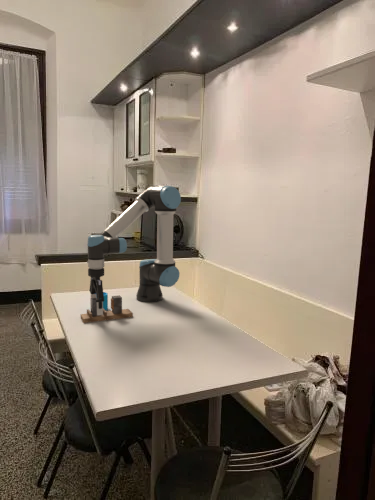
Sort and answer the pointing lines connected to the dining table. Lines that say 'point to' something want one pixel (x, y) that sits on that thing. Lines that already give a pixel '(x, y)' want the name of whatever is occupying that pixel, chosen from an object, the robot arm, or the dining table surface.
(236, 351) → the dining table surface
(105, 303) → the mug
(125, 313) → the rail
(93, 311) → the dark grey upright block
